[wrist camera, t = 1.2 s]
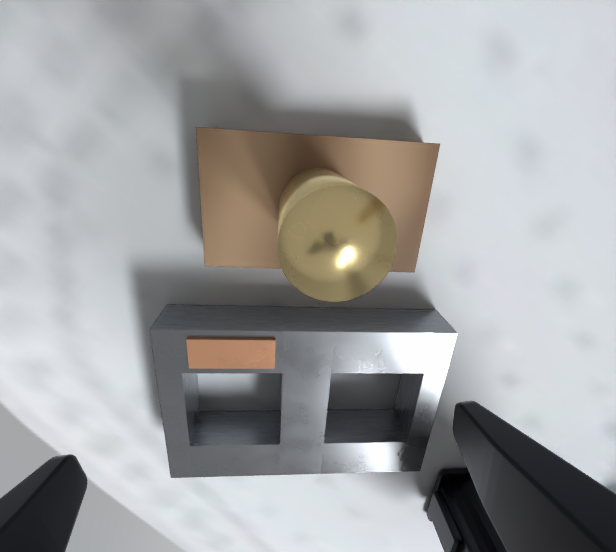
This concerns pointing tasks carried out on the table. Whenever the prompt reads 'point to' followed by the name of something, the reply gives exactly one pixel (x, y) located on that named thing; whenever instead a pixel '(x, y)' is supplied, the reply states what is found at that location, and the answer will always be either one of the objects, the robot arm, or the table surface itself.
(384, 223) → the brass peg
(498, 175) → the table surface
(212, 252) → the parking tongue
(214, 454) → the plate
